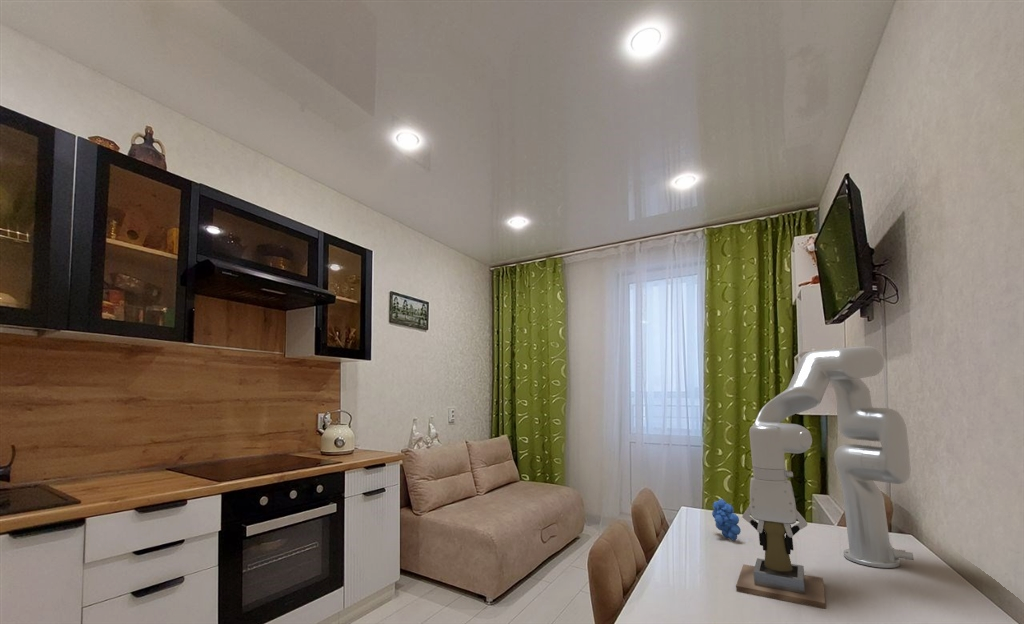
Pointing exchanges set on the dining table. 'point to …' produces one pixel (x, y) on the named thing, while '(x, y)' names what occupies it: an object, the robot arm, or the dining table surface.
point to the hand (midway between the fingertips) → (776, 550)
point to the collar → (780, 577)
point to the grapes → (726, 519)
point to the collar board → (811, 596)
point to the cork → (776, 547)
